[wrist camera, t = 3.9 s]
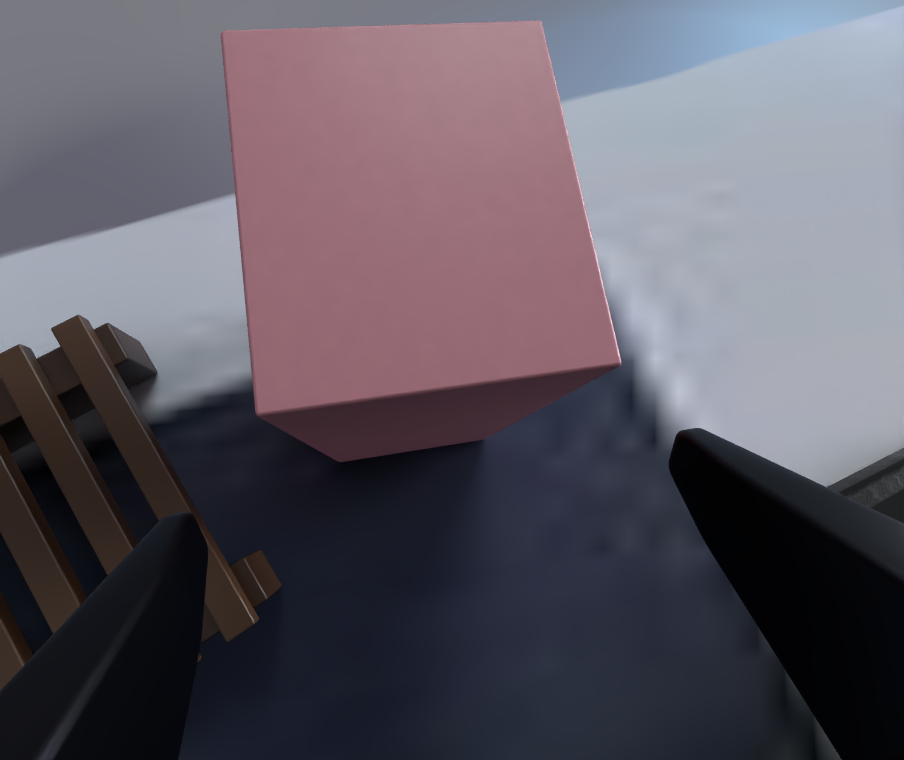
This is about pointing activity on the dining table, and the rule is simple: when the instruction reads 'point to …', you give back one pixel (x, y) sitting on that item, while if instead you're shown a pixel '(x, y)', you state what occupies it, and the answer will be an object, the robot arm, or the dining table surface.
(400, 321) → the box
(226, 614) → the rack
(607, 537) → the dining table surface
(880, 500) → the phone
